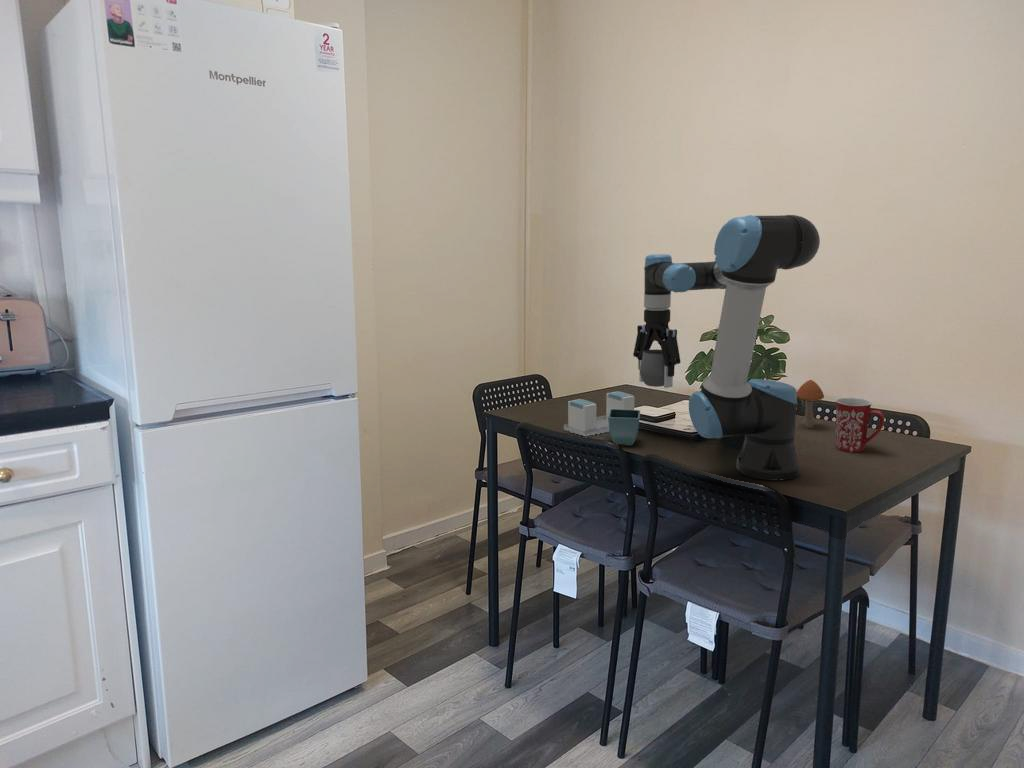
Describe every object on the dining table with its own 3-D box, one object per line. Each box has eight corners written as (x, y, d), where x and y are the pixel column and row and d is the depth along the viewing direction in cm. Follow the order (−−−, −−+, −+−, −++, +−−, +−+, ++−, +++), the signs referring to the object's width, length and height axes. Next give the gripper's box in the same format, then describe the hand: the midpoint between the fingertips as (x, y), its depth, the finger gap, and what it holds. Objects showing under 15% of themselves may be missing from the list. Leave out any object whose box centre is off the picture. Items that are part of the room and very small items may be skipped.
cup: (659, 390, 203) (659, 355, 201) (633, 385, 210) (633, 352, 208) (678, 384, 210) (679, 351, 207) (652, 380, 216) (653, 347, 214)
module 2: (634, 420, 223) (634, 395, 221) (623, 423, 221) (623, 397, 219) (616, 415, 230) (617, 390, 228) (606, 417, 227) (606, 392, 225)
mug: (825, 448, 197) (829, 401, 194) (840, 441, 202) (844, 395, 199) (872, 459, 187) (877, 409, 184) (886, 451, 193) (891, 403, 190)
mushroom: (794, 430, 213) (797, 381, 210) (792, 422, 221) (795, 376, 217) (823, 432, 211) (827, 383, 208) (820, 424, 218) (823, 377, 215)
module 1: (596, 429, 215) (596, 403, 213) (584, 432, 212) (584, 406, 210) (579, 423, 221) (579, 398, 219) (568, 426, 219) (568, 400, 217)
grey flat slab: (638, 424, 223) (638, 419, 223) (584, 437, 211) (584, 432, 211) (617, 417, 231) (617, 412, 231) (563, 429, 219) (563, 424, 219)
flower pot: (639, 448, 200) (639, 418, 198) (607, 447, 202) (607, 417, 200) (639, 439, 209) (640, 409, 207) (609, 437, 211) (610, 408, 208)
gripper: (695, 310, 198) (692, 388, 203) (639, 304, 216) (638, 376, 221) (676, 313, 194) (674, 392, 199) (621, 306, 212) (620, 379, 217)
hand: (655, 384), depth 210 cm, fingers closed on cup, 9 cm apart
